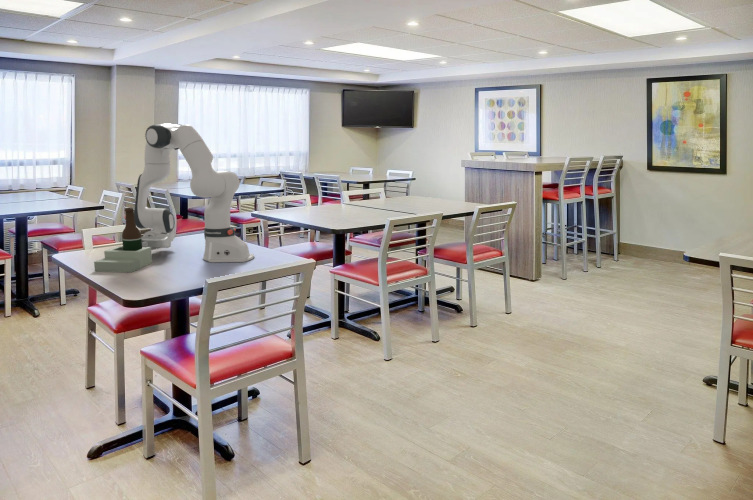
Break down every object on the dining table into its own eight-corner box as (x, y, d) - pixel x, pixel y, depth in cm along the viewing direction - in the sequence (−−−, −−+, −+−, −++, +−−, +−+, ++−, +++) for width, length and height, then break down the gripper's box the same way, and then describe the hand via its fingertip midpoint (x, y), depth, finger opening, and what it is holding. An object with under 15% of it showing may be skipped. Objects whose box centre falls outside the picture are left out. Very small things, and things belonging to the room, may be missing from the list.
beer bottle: (120, 263, 260) (115, 208, 255) (135, 259, 267) (130, 206, 262) (132, 265, 257) (127, 210, 252) (147, 262, 263) (142, 207, 258)
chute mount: (153, 262, 262) (152, 247, 261) (131, 272, 244) (130, 255, 243) (118, 261, 264) (117, 246, 263) (94, 271, 247) (93, 254, 245)
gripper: (131, 232, 278) (114, 237, 265) (173, 233, 275) (158, 239, 262) (132, 245, 279) (115, 251, 266) (173, 247, 277) (159, 253, 263)
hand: (137, 245), depth 264 cm, fingers closed, pressing on beer bottle
